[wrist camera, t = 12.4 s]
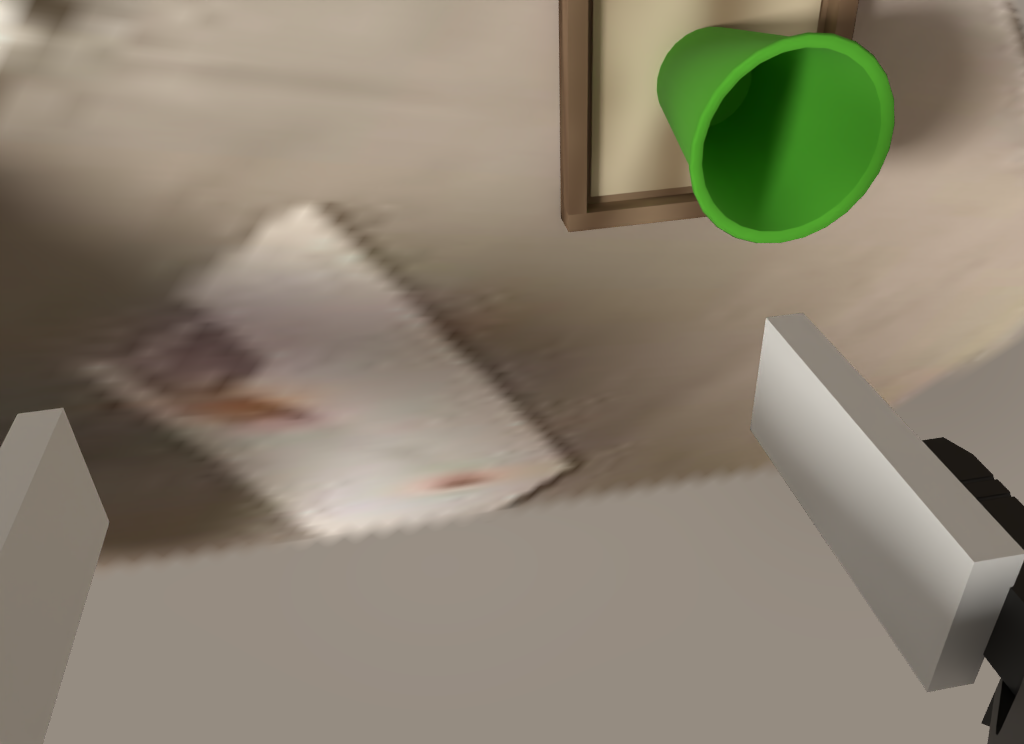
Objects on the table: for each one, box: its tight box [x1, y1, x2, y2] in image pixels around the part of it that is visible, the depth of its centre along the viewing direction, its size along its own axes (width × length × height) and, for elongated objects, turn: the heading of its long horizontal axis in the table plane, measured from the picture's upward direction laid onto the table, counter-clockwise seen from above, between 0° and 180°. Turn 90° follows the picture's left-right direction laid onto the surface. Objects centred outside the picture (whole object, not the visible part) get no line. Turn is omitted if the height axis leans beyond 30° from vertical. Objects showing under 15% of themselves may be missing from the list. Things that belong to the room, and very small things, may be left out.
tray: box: [559, 0, 859, 232], centre depth 45 cm, size 15×15×2 cm
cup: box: [657, 27, 894, 243], centre depth 41 cm, size 9×9×11 cm
